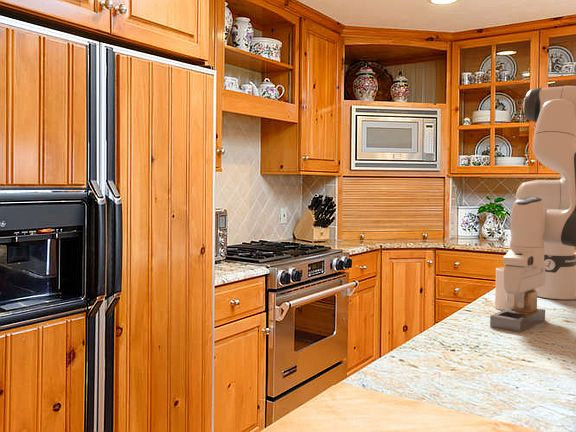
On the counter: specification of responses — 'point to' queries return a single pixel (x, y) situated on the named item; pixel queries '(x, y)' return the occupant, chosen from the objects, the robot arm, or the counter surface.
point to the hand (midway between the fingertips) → (525, 305)
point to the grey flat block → (516, 319)
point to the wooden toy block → (527, 302)
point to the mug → (502, 292)
